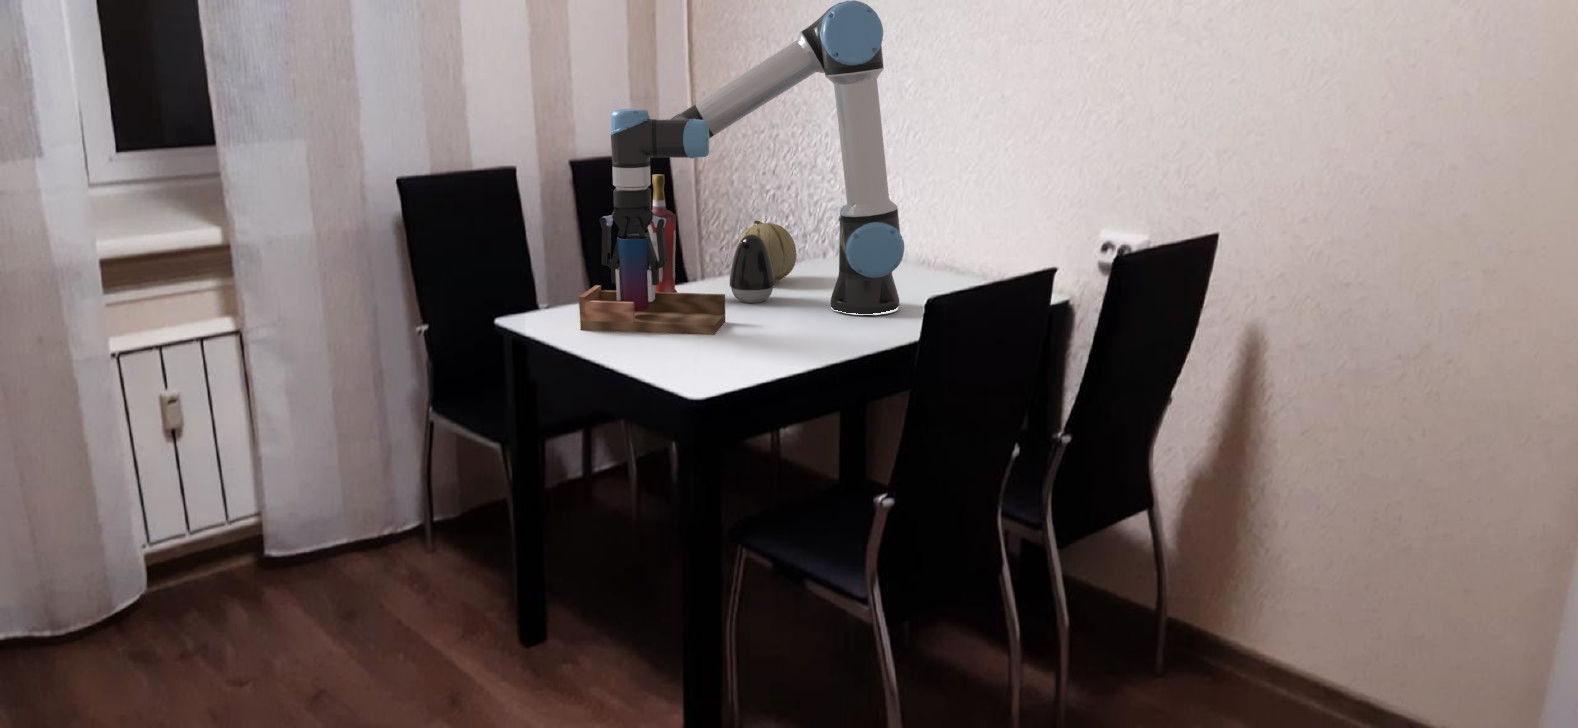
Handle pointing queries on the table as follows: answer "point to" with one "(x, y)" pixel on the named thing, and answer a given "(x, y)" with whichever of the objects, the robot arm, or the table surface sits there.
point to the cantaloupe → (776, 246)
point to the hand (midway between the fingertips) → (636, 299)
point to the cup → (634, 270)
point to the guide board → (653, 313)
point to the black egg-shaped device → (752, 271)
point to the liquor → (660, 211)
